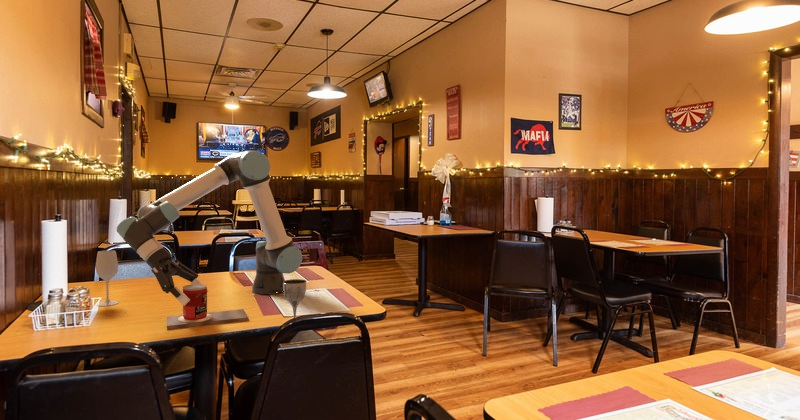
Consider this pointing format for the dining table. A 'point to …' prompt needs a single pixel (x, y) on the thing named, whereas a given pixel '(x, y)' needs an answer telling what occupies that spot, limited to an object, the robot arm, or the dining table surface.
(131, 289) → the dining table surface
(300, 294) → the wine glass
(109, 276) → the wineglass
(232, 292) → the dining table surface
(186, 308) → the canned food
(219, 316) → the serving board
